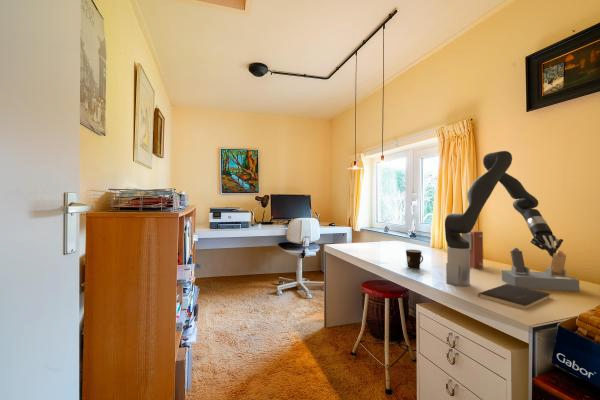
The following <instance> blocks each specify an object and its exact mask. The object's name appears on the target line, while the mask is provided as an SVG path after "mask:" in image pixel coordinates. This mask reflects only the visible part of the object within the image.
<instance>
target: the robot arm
mask: <svg viewBox="0 0 600 400" xmlns="http://www.w3.org/2000/svg"><path fill="white" fill-rule="evenodd" d="M512 162H513V155H512V153H511V152H510V151H507V150H501V151H495V152H490V153H487V154H485V155H484V157H483V158H482V164H483V167H484V168H485V170H487V171H486V172H484V173H483V174H481V175H480V176H479V177H477V178H476V179H475V180H474V181H473V182H472V184H471V185H470V186H469V189H468V190H467V193H466V195H467V202H468V206H467V208H466V210H465V211H464V212H463V213H456V212H455V213H452V212H451V213H449V214H447V215H446V217H445V219H444V235H445V241H446V247H447V248H446V249H447V253H446V258H447V259H446V260H447V262H446V265H445V267H446V269H445V270H446V272H445V274H446V277H445V279H446V283H447V284H450V285H454V286H457V287H467V286H470V284H471V280H470V279H471V276H470V275H471V274H470V273H471V272H470V271H471V269H470V268H471V267H470V244H469V242H468V241H466V240H465V239H463V238H462V237H461V233H463V234H466V233H469V232H470V231H471V230H474V227H475V225H476V223H477V221H478V219H479V216H480V213H481V212H482V210H483V207H484V206H485V204H486V203H487V201H488V199H489V198H490V196H491V194H492V193H493V191H494V190H495V188H496V186H497V185H498V183H500V184H501V185H502V186H503V187H504V189H505V190H506V191H507V193H508V194H509V195H510V197H511V199H514V201H513V202H512V206H513V208H514V210H516V212H518V213H519V214H520V215H522V217H523V218H524V220H525V222H526V223H525V224H526V225H527V228H528V229H529V231H530V234H531V235H532V236H533V238H532V239H531V240H530V244H532V245H534V246H536V248H538V249H540V250H542V251H546V252H547V253H548V255H549V256H550V257H551V258H553V253H556V252H557V251H559V248H560V247H561V246H562V244H563V242H564V239H562V238H560V239H559V238H557V236H555V235H554V232H553V231H552V229H551V228H550V226H549V224H548V223H547V221H546V220H545V218H544V217H543V215H542V213H541V212H540V211H539V210H538V209H536V208H537V207H538V206H539V200H538V199H537V197H536V196H533V195H532V194H531V193H529V192H528V191H527V190H526V188H525V187H524V186H523V184H522V183H521V181H519V180H518V178H515V177H514V176H513V175H511V174H508V173H507V171H508V169H509V168H510V167H511V165H512Z"/></svg>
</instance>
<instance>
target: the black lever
mask: <svg viewBox="0 0 600 400" xmlns="http://www.w3.org/2000/svg"><path fill="white" fill-rule="evenodd" d="M509 253H510V257H511V262H512V266H514V267H516V268H517V273H526V270H525V267H526V266H525V261H524V256H523V255H524V254H523V251H522V250H520V249H519V248H518V247H514V248H512V250H510V252H509Z"/></svg>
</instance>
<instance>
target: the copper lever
mask: <svg viewBox="0 0 600 400" xmlns="http://www.w3.org/2000/svg"><path fill="white" fill-rule="evenodd" d="M551 258H552V257H551ZM566 260H567V254H565V252H563V251H562V250H557V252H556V253H553V258H552V260H551V265H550V269H552V275H561V276H563V271H564V269H565V265H566Z"/></svg>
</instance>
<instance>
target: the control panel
mask: <svg viewBox="0 0 600 400" xmlns="http://www.w3.org/2000/svg"><path fill="white" fill-rule="evenodd" d="M483 233H484V232H483V231H481V230H475V229H472V230H471V231H470V232H469V233H466V234H463V233H460V235H461V237H462V238H463V239H465V240H466V241H468V242H469V244H470V268H471V269H483V268H484V248H483V247H484V240H483V239H484V237H483V235H484V234H483Z"/></svg>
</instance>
